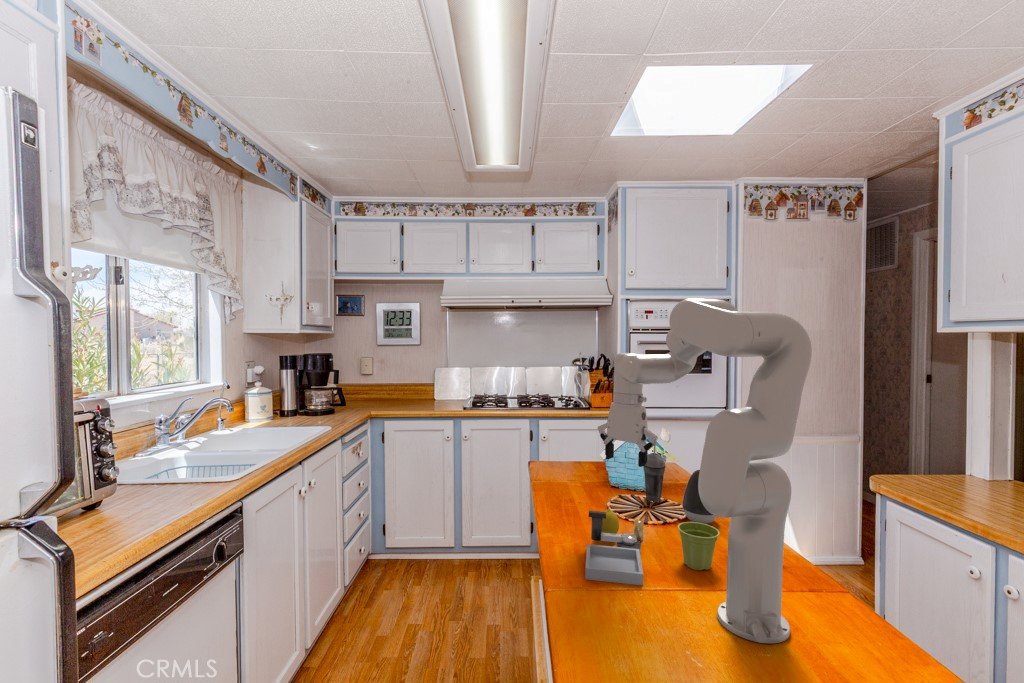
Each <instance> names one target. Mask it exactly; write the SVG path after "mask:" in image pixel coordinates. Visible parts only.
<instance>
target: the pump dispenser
mask: <svg viewBox="0 0 1024 683" xmlns="http://www.w3.org/2000/svg"><path fill="white" fill-rule="evenodd" d="M699 473H700V469H696V470H695V471H693V472H692V474H691V475H690V476H689V479H688V480H687V484H686V486H685V488H684V493H683V496H682V509H683V512H684V514H685V516H686V518H688V520H690V522H698V523H703V524H707V525H709V524H711V523H713V522H714V521H715V520H716V519H717V516H715V515H713V514H711V513H710V512H709V511H707V509H706V508H705V507H704V505H703V504H702V502H701V499H700V496H699V490H698V480H699Z"/></svg>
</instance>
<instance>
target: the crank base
mask: <svg viewBox="0 0 1024 683" xmlns="http://www.w3.org/2000/svg"><path fill="white" fill-rule="evenodd" d="M633 522H634V523H633V524H634V525H633V534H634V535H636V536H637V543H636V544H635V545H626V544H623V543H621V542H616V545H615V547H622V548H633V549H639V551H640V554H641V551H642V550H641V549H642V548H641V547H642V543H641V542H643V541H644V520H642V519H639V518H637V519H634V521H633ZM639 541H640V542H639Z"/></svg>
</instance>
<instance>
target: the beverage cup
mask: <svg viewBox="0 0 1024 683" xmlns="http://www.w3.org/2000/svg"><path fill="white" fill-rule="evenodd" d="M656 442H657V441H656ZM656 442H655V444H654V446H653V452H651V453H647V463H646V465H644V466H642V467H643V472H644V488H645V489H644V490H645V499H647V500H649V501H653V502H657V501H660V502H661V499H662V491H663V484H664V476H665V475H664V474H665V471H666V461H665V460H664V458H663V456H661V455H660V454H659V453H656V446H657V445H656ZM647 500H646V501H647ZM649 501H648V502H649ZM653 502H652V503H653Z"/></svg>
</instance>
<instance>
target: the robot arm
mask: <svg viewBox="0 0 1024 683" xmlns="http://www.w3.org/2000/svg"><path fill="white" fill-rule="evenodd" d="M668 322H669V323H668V324H669V327H670V329H669V330H668V332H667V334H666V337H665V340H666V341H665V343H666V346H667V349H668V350H669V352H667V353H665V354H663V353H662V354H661V353H660V354H658V353H657V354H651V353H650V354H640V353H635V352H621V353H617V354H615V357H614V367H613V368H614V372H613V396H612V397H613V402H611V404H610V407H609V411H608V418H607V422H606V423H604V424H601V425H598V426H597V431H598V433H599V436H600V438H601V439H602V441H603V444H604V445H605V447H604V455H605V459H606V460H610V459H612V458H614V456H615V455H614V452H615V443H614V441H615V440H616V441H621V442H625V443H630V444H636V445H637V448H639V451H638V459H637V462H638V464H637V465H638V467H640V468H642V467H643V466H644V465H646V463H647V455H648V454H649V453H648V451H650V449H651V448H654V444H655V442H657V441H658V439H659V437H658V435H656V434H655V433H654V432H652V430H650V429H648V416H647V408H646V405H645V404H643V403H646V402H647V400H648V399H647V397H646V396H644V394H643V385H651V384H652V385H653V384H655V385H656V384H657V385H658V384H660V385H661V384H670V383H674V382H676V381H678V380H680V379H681V378H683V377H684V376H687V375H688V374H689V373H691V372H692V370H693V369H694V368H695V366H696V363H697V359H698V357H699V356H701V355H703V354H704V353H705V352H709V353H713V354H714V355H715V354H716V355H718V356H722V357H730V358H739V357H740V358H742V357H743V358H744V357H745V358H747V357H748V358H749V357H750V358H751V357H753V358H754V357H761V358H763V362H762V363H761V365H760V366H759V367H758V369H756V371H755V373H754V375H753V377H752V379H751V381H750V385H749V390H748V397H747V400H746V403H745V406H743V407H737V408H728V409H723V410H721V411H720V412H718V413H717V414H715V415H714V416H713V417H712V419H711V420H710V421H709V424H708V426H707V429H706V431H705V438H704V442H703V449H702V455H701V460H700V461H701V462H700V467H699V470H700V473H699V480H698V490H699V496H700V499H701V502H702V504H703V505H704V507H705V508H706V509H707V511H709V512H710V513H711V514H713V515H715V516H717V517H718V518H723V519H726V518H727V519H730V518H731V519H730V521H729V525H728V536H727V538H728V539H727V560H726V561H727V567H726V592H725V594H726V595H725V598H726V599H725V601H724V602H722V603H720V604H719V606H718V607H717V613H716V614H717V615H716V616H717V619H718V621H719V622H720V624H721V625H722V626H723V627H724V628H725V629H727V630H728V631H729V632H731V633H732V634H734V635H736V636H738V637H740V638H742V639H745V640H748V641H751V642H755V643H759V644H767V645H768V644H777V643H778V644H779V643H781V642H785V641H787V639H789V637H790V636H791V626H790V623H789V622H788V620H787V619H786V618H785V617H784V616H783V615H782V597H783V596H782V595H783V567H784V566H783V565H784V563H783V562H784V548H785V546H784V545H785V544H784V543H785V529H786V521H787V517H788V512H789V508H790V505H791V500H792V482H791V481H790V478H789V476H788V474H787V473H786V471H785V470H784V469H783V467H781V466H780V465H778V464H777V463H775V462H773V461H771V460H770V461H769V460H768V459H773V458H774V459H775V458H779V457H782V456H784V455H786V454H787V453H788V452H789V451H790V449H791V447H792V444H793V441H794V436H795V431H796V426H797V423H798V418H799V411H800V407H801V401H802V395H803V391H804V387H805V383H806V380H807V376H808V374H809V369H810V366H811V363H812V362H811V361H812V354H813V348H812V342H811V339H810V336H809V334H808V332H807V331H806V329H805V328H804V326H803V325H802V324H801V323H800V322H799V321H797V320H796V319H794V318H792V317H790V316H789V315H785V314H783V313H777V312H772V311H771V312H770V311H743V310H742V311H741V310H738V309H737V308H736V306H734V304H732V303H730V302H728V301H726V300H723V299H714V298H695V297H693V298H691V297H690V298H685V299H683V300H680V301H679V302H677V304H675V305H674V306H673V308H672V309H671V312H670V314H669V319H668ZM605 429H606V430H605ZM648 438H649V441H648V443H647V442H646V441H647V440H648ZM717 517H716V518H717Z"/></svg>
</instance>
